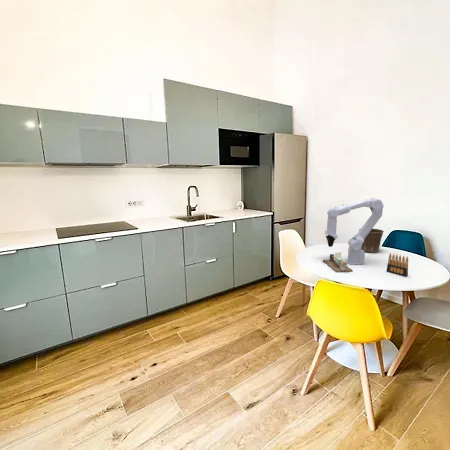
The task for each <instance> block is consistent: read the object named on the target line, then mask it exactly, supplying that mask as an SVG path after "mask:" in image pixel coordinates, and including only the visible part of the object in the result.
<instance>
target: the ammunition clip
mask: <svg viewBox="0 0 450 450" xmlns="http://www.w3.org/2000/svg"><path fill="white" fill-rule="evenodd" d="M388 254H389V255H388V259H387V264H386V265H387V266H386V271H385V272H386V273H390V274H393V275H396V276H400V277H404V278H408V277H409V276H408V275H409V257H408V255H407V256H406V257H405V255H401V254H398V253H396V255H395V253H392V252H389V253H388Z"/></svg>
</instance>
